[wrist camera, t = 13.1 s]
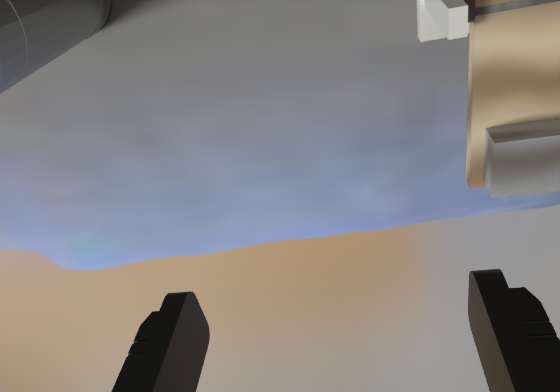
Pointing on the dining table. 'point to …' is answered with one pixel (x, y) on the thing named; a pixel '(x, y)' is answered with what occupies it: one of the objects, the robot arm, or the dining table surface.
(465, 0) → the beam
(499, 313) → the robot arm
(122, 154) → the dining table surface
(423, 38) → the pivot stand
